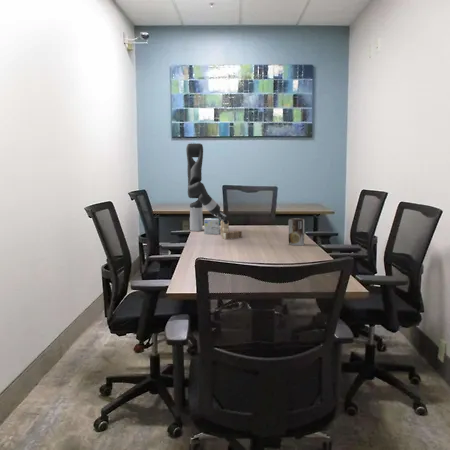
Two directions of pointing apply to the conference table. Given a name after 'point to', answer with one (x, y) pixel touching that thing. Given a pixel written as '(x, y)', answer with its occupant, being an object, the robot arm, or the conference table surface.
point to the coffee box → (296, 231)
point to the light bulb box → (211, 226)
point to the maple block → (224, 227)
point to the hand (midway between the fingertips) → (226, 223)
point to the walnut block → (231, 234)
